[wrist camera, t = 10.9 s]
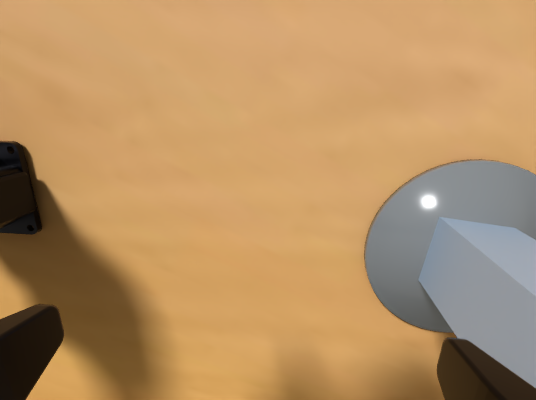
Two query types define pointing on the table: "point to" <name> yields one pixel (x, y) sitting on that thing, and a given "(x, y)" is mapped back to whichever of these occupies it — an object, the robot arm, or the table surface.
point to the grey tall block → (486, 289)
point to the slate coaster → (424, 223)
